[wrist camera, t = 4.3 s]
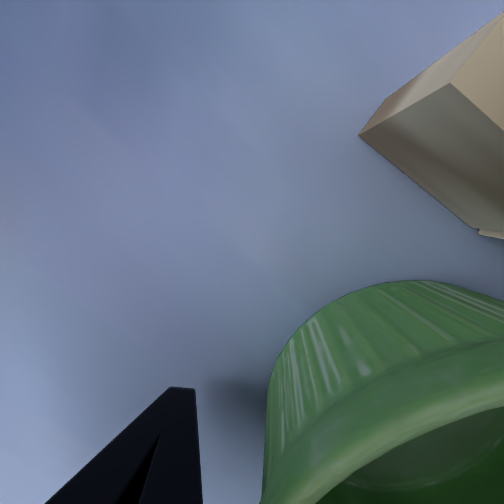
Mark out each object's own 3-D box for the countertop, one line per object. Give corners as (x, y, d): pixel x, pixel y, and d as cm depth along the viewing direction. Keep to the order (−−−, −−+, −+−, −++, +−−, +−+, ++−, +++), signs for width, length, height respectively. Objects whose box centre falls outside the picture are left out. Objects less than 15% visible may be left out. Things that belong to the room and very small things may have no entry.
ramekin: (601, 365, 7) (1066, 601, 3) (396, 525, 9) (512, 806, 5) (380, 194, 6) (629, 196, 2) (201, 413, 8) (140, 646, 4)
